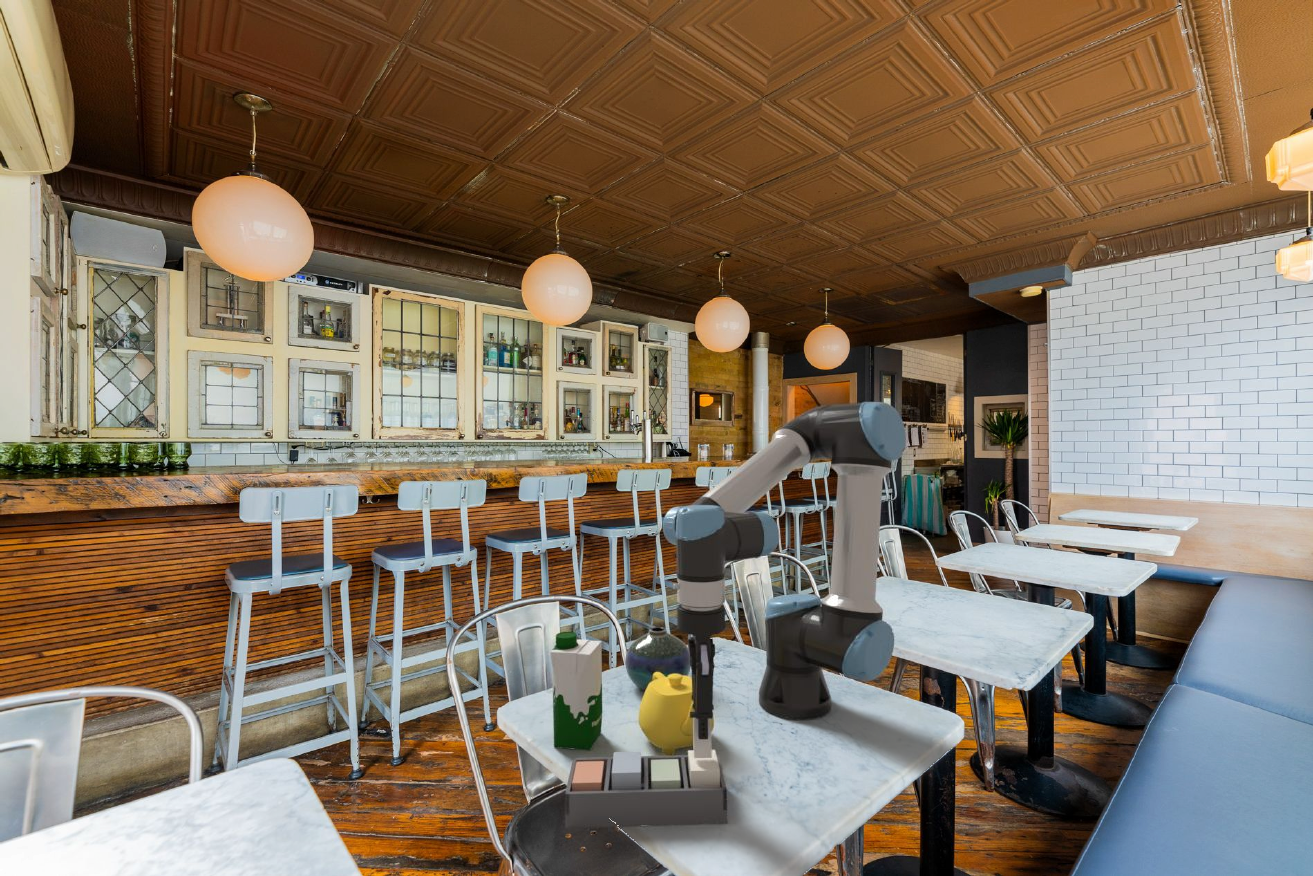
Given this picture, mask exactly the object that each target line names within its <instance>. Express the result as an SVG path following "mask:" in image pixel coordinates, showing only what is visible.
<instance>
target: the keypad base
mask: <svg viewBox="0 0 1313 876" xmlns="http://www.w3.org/2000/svg"><path fill="white" fill-rule="evenodd" d="M716 756H717V760H718V765H719V769H720V788H691V786H690V779H689V771H688V754H680V755H675V754H674V755H671V756H666V755H641V790H613V791H612V765H613V756H606V757H605V756H604V757H573V758H572V762H571V765H570V770H569V774H568V778H567V779H568V780H567V783H566V787H565V793H564V815H565V816H564V818H565V819H564V820H565V822H564V824H565V829H582V828H583V829H584V828H586V829H588V828H592V829H593V828H620V827H621V828H622V827H642V826H641V825H651V826H650V827H654V826H655V827H657V826H660V827H662V826H690V825H691V826H693V825H722V824H723V825H725V824H728V820H729V819H728V788H727V784H726V780H725V776H724V771H723V767H722V763H721V759H720V755H719V753H718V754H717V753H716ZM662 759H678V762H679V771H680V782H681V789H651V760H662ZM585 761H604V785H603V791H576V792H572V781H573V776H574V772H575V767H576V762H585ZM609 818H610V819H611V820H612V821H614V822H616V824H615V823H614V822H612V821H611V820H610V819H609ZM617 825H619V826H617Z"/></svg>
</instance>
